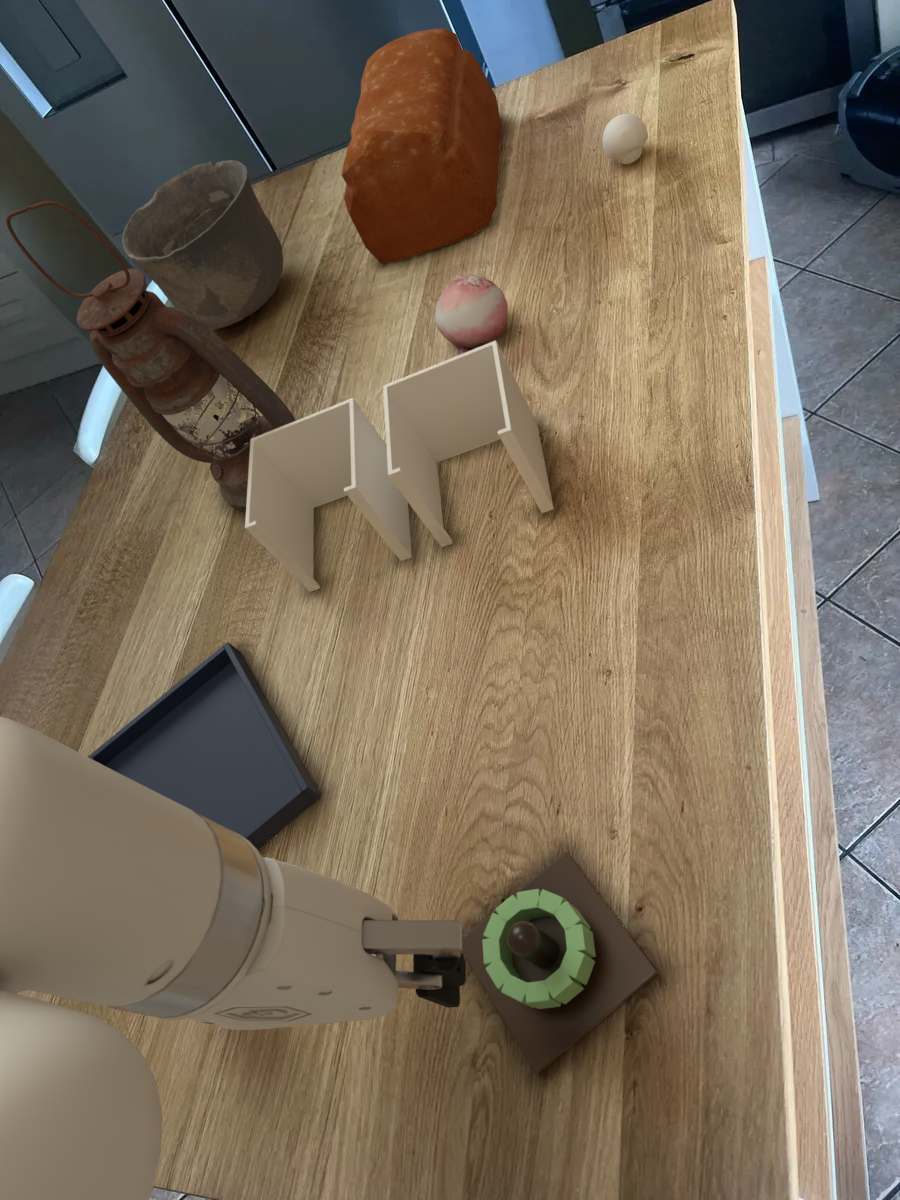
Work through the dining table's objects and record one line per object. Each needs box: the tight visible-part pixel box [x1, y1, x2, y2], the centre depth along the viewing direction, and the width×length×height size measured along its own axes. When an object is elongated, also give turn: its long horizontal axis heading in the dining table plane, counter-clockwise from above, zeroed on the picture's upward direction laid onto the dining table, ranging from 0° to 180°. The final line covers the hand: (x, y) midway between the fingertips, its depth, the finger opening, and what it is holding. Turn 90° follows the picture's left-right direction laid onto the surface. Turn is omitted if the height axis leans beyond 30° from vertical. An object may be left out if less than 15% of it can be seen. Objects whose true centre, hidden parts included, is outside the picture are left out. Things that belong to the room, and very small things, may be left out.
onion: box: [434, 272, 509, 356], centre depth 93 cm, size 8×8×7 cm
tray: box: [87, 641, 322, 850], centre depth 80 cm, size 17×19×2 cm
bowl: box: [121, 159, 284, 329], centre depth 113 cm, size 18×18×15 cm
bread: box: [341, 27, 502, 263], centre depth 109 cm, size 17×24×15 cm
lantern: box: [5, 200, 296, 512], centre depth 86 cm, size 11×16×35 cm
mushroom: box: [601, 113, 649, 165], centre depth 100 cm, size 5×5×5 cm
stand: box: [462, 851, 659, 1075], centre depth 58 cm, size 10×10×7 cm
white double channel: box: [244, 340, 555, 593], centre depth 83 cm, size 25×11×11 cm, turn 95°
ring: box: [482, 889, 596, 1009], centre depth 58 cm, size 7×7×2 cm
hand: (372, 983), depth 49 cm, fingers open, 9 cm apart
